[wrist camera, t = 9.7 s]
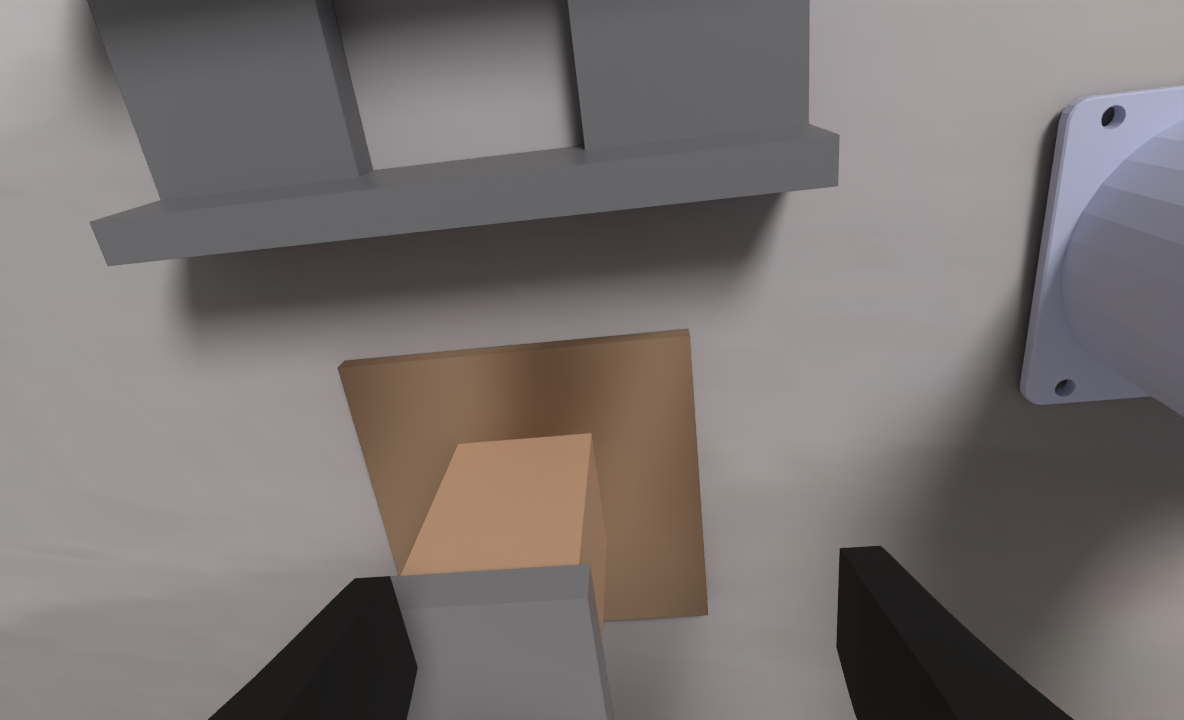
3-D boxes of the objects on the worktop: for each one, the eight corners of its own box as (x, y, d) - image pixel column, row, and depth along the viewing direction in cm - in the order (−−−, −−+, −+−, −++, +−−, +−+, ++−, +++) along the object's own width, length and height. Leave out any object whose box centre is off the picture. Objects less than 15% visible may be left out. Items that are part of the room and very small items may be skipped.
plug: (600, 423, 20) (587, 598, 13) (616, 550, 22) (613, 756, 15) (446, 436, 20) (362, 611, 14) (475, 559, 22) (413, 764, 16)
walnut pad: (688, 328, 19) (689, 335, 18) (706, 604, 23) (708, 615, 22) (344, 360, 20) (337, 368, 19) (419, 620, 24) (415, 630, 23)
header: (799, -218, 14) (850, -299, 11) (798, 162, 17) (838, 186, 14) (80, -101, 15) (-62, -142, 12) (197, 230, 18) (107, 266, 15)
